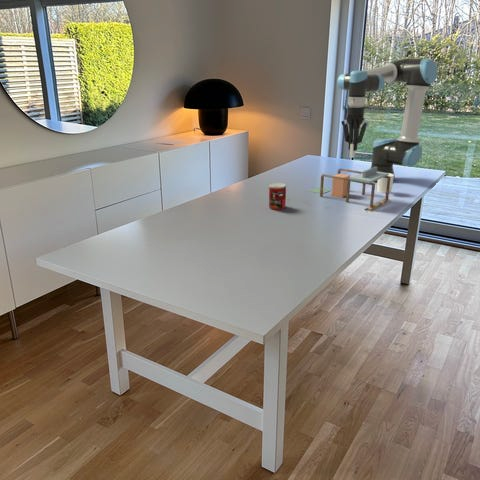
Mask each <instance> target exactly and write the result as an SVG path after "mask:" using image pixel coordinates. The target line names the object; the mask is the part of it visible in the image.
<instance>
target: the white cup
mask: <svg viewBox="0 0 480 480" xmlns="http://www.w3.org/2000/svg"><path fill="white" fill-rule="evenodd" d="M394 175H395V173H394V174H391V173H389V175H388V176H390V177H391V179H390V187H389V194H391V193H392V189H393V184H394V181H393V179H394ZM387 180H388V178H381V179H379V180H378V182H376V183H377V185H376V186H377V187H376V188H377V192H378V193H381V194H386V189H387Z"/></svg>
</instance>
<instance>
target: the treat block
mask: <svg viewBox="0 0 480 480" xmlns="http://www.w3.org/2000/svg"><path fill="white" fill-rule="evenodd" d="M333 176H337V177H342V178H348V179H350V177H351V175H349V174H343V173H340V174H338V173H337V174H335V175H333ZM331 187H332V188H331V195H332V196H331V197H333V196H337V197H336V198H338V197H342V198H341V199H344V198H343V197H345V196H346V193H347V181H346V180H341V179H335V178H332V186H331Z"/></svg>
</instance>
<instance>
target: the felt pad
mask: <svg viewBox="0 0 480 480" xmlns="http://www.w3.org/2000/svg"><path fill="white" fill-rule="evenodd" d="M308 192H311V193H315V194H319V195H320V187H316V188H313V189H310V190H308ZM328 192H332V189H331V190H330V189H326V188H323V195H324V194H326V193H328Z"/></svg>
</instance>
